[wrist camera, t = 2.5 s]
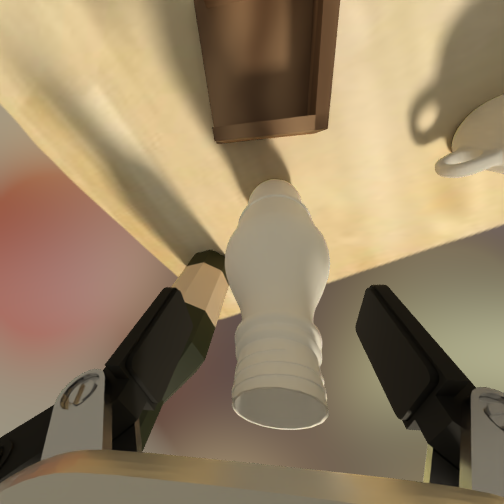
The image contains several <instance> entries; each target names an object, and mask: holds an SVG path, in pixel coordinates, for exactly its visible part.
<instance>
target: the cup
mask: <svg viewBox="0 0 504 504" xmlns="http://www.w3.org/2000/svg"><path fill="white" fill-rule="evenodd" d="M484 170H488V171H493V172H497V173H502V174H504V94H503V95H500V96H498V97H495V98H493V99H491V100H489V101H487V102H486V103H484V104H482V105H481V106H479V107H478V108H476V109H475V110H474V111H473V112H472V113H470V114H469V115H468V116H467V117H466V118H465V119H464V121H463V122H462V123H461V124H460V126H459V127H458V129H457V131H456V133H455V135H454V137H453V141H452V153H450V154H448V155H446V156H444V157H443V158H441V159H440V160H438V161H437V162H436V164H435V171H436V173H437V174H438V175H440V176H442V177H447V178H459V177H465V176H469V175H473V174H476V173H478V172H481V171H484Z"/></svg>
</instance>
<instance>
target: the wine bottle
mask: <svg viewBox="0 0 504 504" xmlns="http://www.w3.org/2000/svg"><path fill="white" fill-rule="evenodd" d="M172 287H176V288H177V289H178V290H180V291H181V293H182V296H183V299H184V302H185V304H186V307H187V310H188V313H189V315H190V318H191V321H192V324H193V328H192V332H191V334H190V336H189V339H188V341H187V343H186V346H185V348H184V350H183V352H182V355H181V357H180V359H179V362H178V364H177V366H176V369H175V371H174V373H173V376H172V378H171V380H170V383H169V385H168V387H167V390H166V392H165V394H164V396H163V398H162V400H161V401H160V402H159V403H157V406H156V408H155V410H142V412H141V414H140V416H139V424H140V433H141V443H142V451H143V449H144V447H145V444H146V442H147V440H148V437H149V435H150V433H151V430H152V428H153V426H154V423H155V421H156V419H157V416H158V414H159V412H160V409H161V407H162V405H163V404H164V403H165V402H166V401H167V400H168V399H169V398H170V397H171V396H172V395H173V394H174V393H175V392H176V391H177V390H178V389H179V388H180V387H181V386H182V385H183V384H184V383H185V382H186V381H187V380H188V379H189V378H190V377H191V376H192V375H193V374H194V373H195V372H196V371H197V370H198V369H199V367H200V366H201V364H202V363H203V362H204V360H205V358H206V355H207V352H208V349H209V346H210V342H211V339H212V336H213V333H214V330H215V327H216V324H217V321H218V318H219V315H220V311H221V308H222V305H223V302H224V299H225V296H226V293H227V290H228V287H229V282H228V279H227V276H226V271H225V256H223V255H221V254H219V253H217V252H215V251H213V250H208V251H204V252H200V253H196V254H195V255H194V257H193V258H192V260H191V261H190V262H189V264H188V265H187V266H186V268H185V269H184V270H183V272H182V273H181V275H180V276H179V277H178V279H177V280H176V282H175V283H174V284H173V285H172Z"/></svg>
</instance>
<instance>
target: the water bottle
mask: <svg viewBox="0 0 504 504" xmlns="http://www.w3.org/2000/svg"><path fill="white" fill-rule="evenodd" d="M329 269H330V257H329V250H328V247H327V244H326V241H325V239H324V237H323V235H322V233H321V232H320V231H319V230H318V228H317V227H316V226H315V225H314V223H313V221H312V218H311V215H310V213H309V211H308V209H307V208H306V206H305V205H304V204H303V203H302V201H301V197H300V195H299V193H298V191H297V190H296V189H295V188H294V186H293V185H291V184H290V183H289V182H287V181H284V180H280V179H270V180H267V181H264V182H262V183H261V184H259V185H258V186H257V187H256V188H255V189H254V190H253V192H252V193H251V195H250V198H249V201H248V205H247V206H246V208H245V209H244V211H243V212H242V214H241V216H240V219H239V223H238V226H237V228H236V230H235V231H234V233H233V234H232V236H231V237H230V240H229V242H228V245H227V249H226V253H225V271H226V276H227V279H228V282H229V285H230V288H231V290H232V293H233V295H234V297H235V299H236V301H237V303H238V305H239V307H240V310H241V315H242V322H241V323H240V324H239V326H238V327H237V329H236V332H235V345H236V359H237V361H238V363H237V365H236V369H235V372H236V373H235V378H234V386H233V388H232V408H233V409H234V411H235V412H236V413H237V415H239V416H241V417H242V418H244V419H245V420H247V421H249V422H252V423H255V424H257V425H260V426H263V427H269V428H275V429H287V430H298V429H304V428H311V427H314V426H316V425H318V424H321V423H323V422H324V421H325V419H326V418H327V417H328V416H329V413H328V407H327V402H326V400H327V392H326V389H325V387H324V378H323V376H322V374H321V371H320V365H321V362H322V352H321V350H322V337H321V334H320V332H319V330H318V328H317V327H316V326H315V325H314V324H313V316H314V311H315V309H316V306H317V304H318V302H319V300H320V298H321V296H322V294H323V291H324V288H325V285H326V283H327V280H328V276H329Z"/></svg>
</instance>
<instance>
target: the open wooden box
mask: <svg viewBox="0 0 504 504" xmlns="http://www.w3.org/2000/svg"><path fill="white" fill-rule="evenodd" d="M194 5H195V11H196V17H197V24H198V30H199V36H200V43H201V49H202V55H203V61H204V68H205V74H206V80H207V87H208V93H209V99H210V105H211V112H212V118H213V124H214V127H212V128H213V134H214V140H215V141H216V143H217V144H222V143H231V142H240V141H249V140H258V139H267V138H276V137H285V136H295V135H304V134H313V133H317V132H320V131H323V130H325V129H328V119H329V109H330V99H331V88H332V78H333V68H334V58H335V48H336V37H337V27H338V17H339V7H340V0H194Z"/></svg>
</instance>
